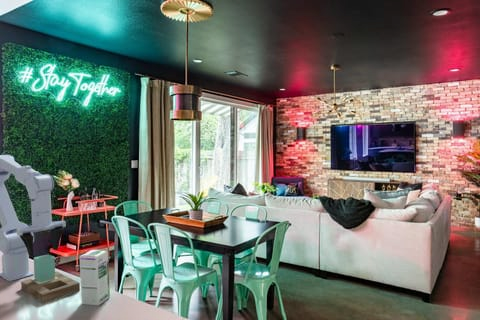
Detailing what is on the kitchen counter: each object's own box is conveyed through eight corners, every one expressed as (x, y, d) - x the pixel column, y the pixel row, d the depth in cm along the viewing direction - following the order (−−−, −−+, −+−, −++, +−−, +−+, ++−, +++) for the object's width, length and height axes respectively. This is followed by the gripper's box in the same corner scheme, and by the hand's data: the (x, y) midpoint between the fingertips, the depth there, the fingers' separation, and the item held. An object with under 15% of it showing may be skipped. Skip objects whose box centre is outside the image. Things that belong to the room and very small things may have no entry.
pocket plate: (21, 288, 114) (21, 280, 114) (56, 278, 122) (56, 270, 122) (42, 303, 104) (42, 294, 103) (79, 290, 112) (79, 282, 112)
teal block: (34, 279, 115) (33, 257, 114) (49, 274, 118) (48, 254, 118) (40, 282, 112) (39, 260, 112) (55, 278, 116) (54, 256, 115)
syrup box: (99, 306, 102) (97, 256, 101) (80, 304, 103) (79, 254, 102) (110, 297, 107) (108, 250, 107) (92, 295, 109) (91, 248, 108)
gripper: (21, 216, 109) (24, 260, 109) (69, 209, 120) (71, 249, 121) (13, 214, 113) (15, 256, 114) (59, 207, 125) (61, 245, 125)
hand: (43, 252), depth 118 cm, fingers open, 7 cm apart
